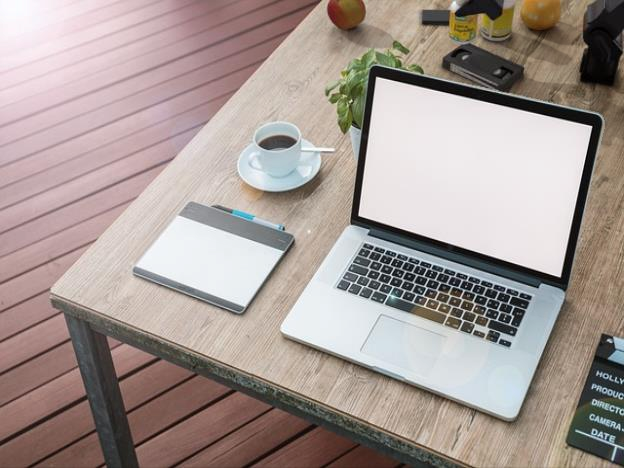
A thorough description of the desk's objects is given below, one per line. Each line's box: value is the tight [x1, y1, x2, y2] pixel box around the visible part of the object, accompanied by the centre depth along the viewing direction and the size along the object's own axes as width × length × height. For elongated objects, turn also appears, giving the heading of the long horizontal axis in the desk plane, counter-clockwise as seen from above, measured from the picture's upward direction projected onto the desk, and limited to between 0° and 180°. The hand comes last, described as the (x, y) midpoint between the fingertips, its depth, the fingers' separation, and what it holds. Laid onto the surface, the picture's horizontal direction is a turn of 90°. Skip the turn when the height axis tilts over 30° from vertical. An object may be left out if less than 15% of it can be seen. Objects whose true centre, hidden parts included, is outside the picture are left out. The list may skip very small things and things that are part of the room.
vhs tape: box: [441, 43, 526, 92], centre depth 167 cm, size 14×8×2 cm, turn 46°
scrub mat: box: [421, 9, 450, 25], centre depth 182 cm, size 9×5×1 cm, turn 84°
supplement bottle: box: [448, 0, 479, 45], centre depth 163 cm, size 5×5×10 cm
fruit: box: [519, 0, 562, 31], centre depth 176 cm, size 8×8×8 cm
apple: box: [326, 0, 367, 31], centre depth 178 cm, size 8×8×8 cm
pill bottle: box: [480, 0, 516, 42], centre depth 173 cm, size 6×6×11 cm
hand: (457, 7), depth 162 cm, fingers closed on supplement bottle, 5 cm apart
